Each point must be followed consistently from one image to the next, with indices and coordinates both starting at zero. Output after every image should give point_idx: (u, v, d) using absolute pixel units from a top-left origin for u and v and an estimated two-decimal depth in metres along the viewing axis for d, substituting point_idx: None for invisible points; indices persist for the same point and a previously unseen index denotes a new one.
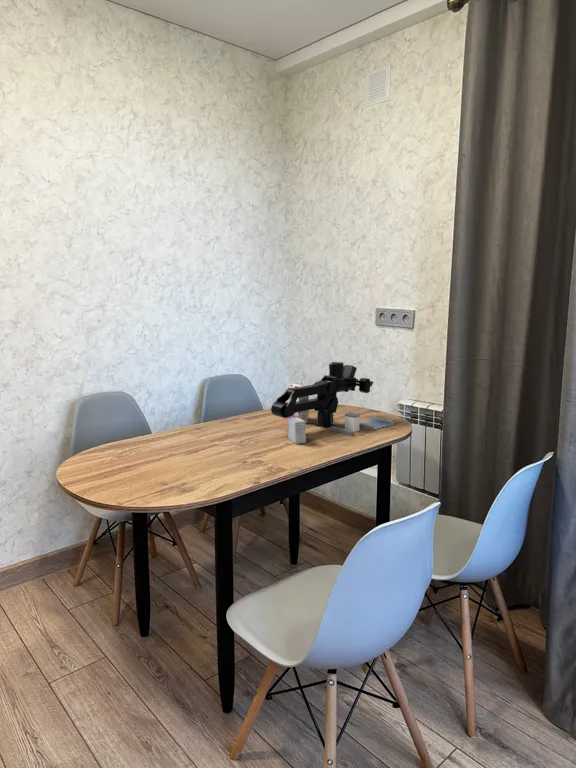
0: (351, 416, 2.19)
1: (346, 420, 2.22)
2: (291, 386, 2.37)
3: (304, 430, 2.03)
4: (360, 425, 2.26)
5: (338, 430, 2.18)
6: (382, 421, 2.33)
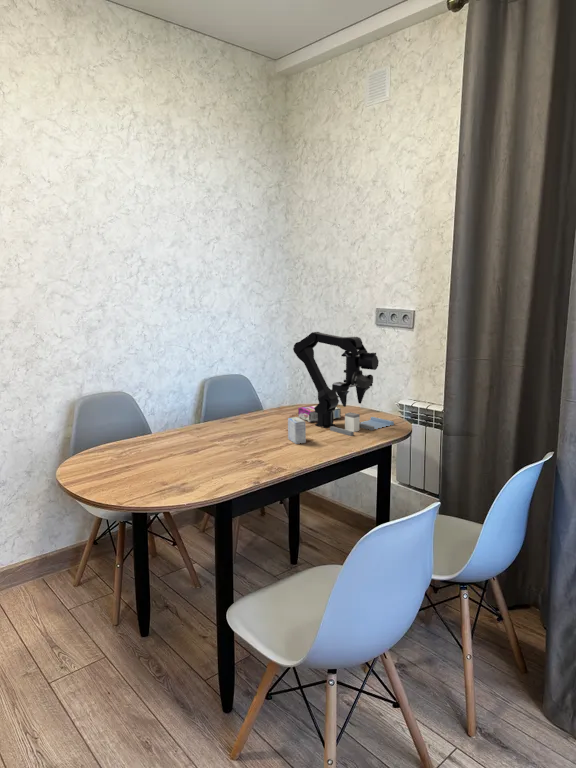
0: (351, 416, 2.19)
1: (346, 420, 2.22)
2: None
3: (304, 430, 2.03)
4: (360, 425, 2.26)
5: (338, 430, 2.18)
6: (382, 421, 2.33)
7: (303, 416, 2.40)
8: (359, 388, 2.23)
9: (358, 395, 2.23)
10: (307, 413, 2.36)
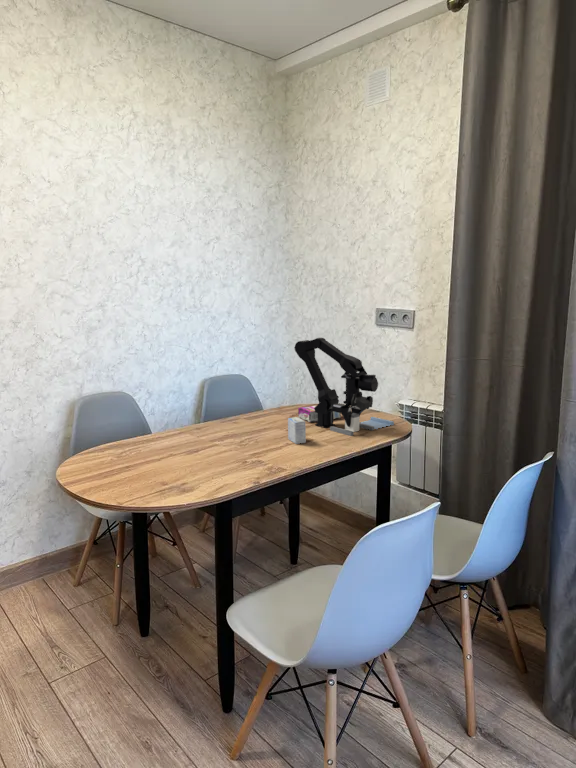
0: (351, 416, 2.19)
1: None
2: None
3: (304, 430, 2.03)
4: (360, 425, 2.26)
5: (338, 430, 2.18)
6: (382, 421, 2.33)
7: (303, 416, 2.40)
8: (354, 410, 2.23)
9: None
10: (307, 413, 2.36)
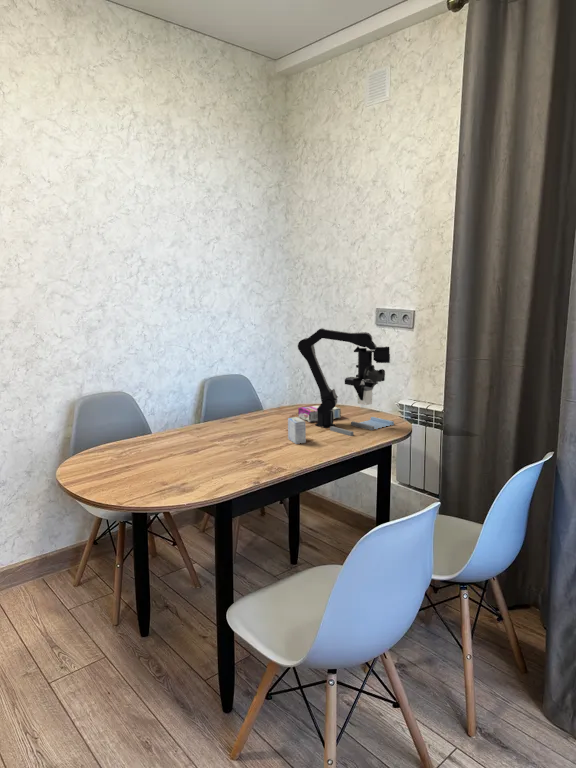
0: (364, 389, 2.22)
1: None
2: None
3: (304, 430, 2.03)
4: (360, 425, 2.26)
5: (338, 430, 2.18)
6: (382, 421, 2.33)
7: (303, 416, 2.40)
8: (367, 383, 2.25)
9: None
10: (307, 413, 2.36)
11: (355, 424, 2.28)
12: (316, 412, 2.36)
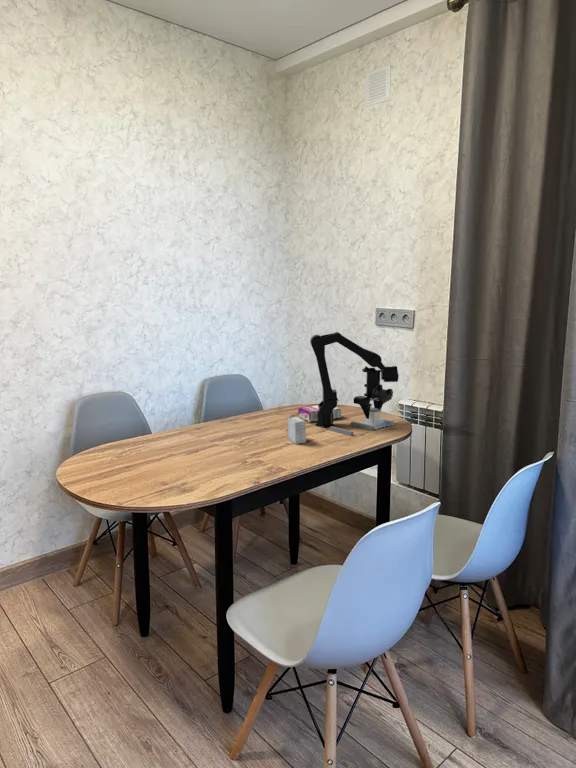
0: (372, 411, 2.27)
1: None
2: None
3: (304, 430, 2.03)
4: (360, 425, 2.26)
5: (338, 430, 2.18)
6: (382, 421, 2.33)
7: (303, 416, 2.40)
8: (376, 402, 2.31)
9: None
10: (307, 413, 2.36)
11: (355, 424, 2.28)
12: (316, 412, 2.36)
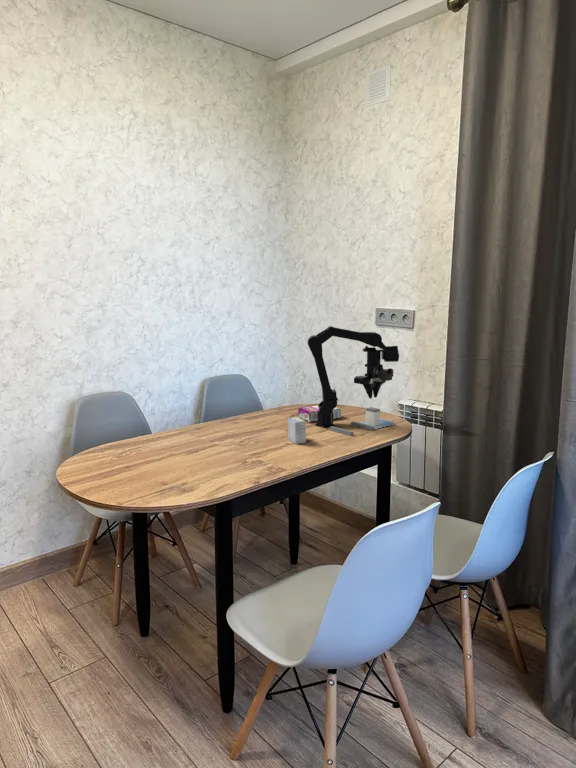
0: (372, 411, 2.27)
1: (366, 414, 2.30)
2: None
3: (304, 430, 2.03)
4: (360, 425, 2.26)
5: (338, 430, 2.18)
6: (382, 421, 2.33)
7: (303, 416, 2.40)
8: (375, 382, 2.29)
9: (374, 389, 2.29)
10: (307, 413, 2.36)
11: (355, 424, 2.28)
12: (316, 412, 2.36)
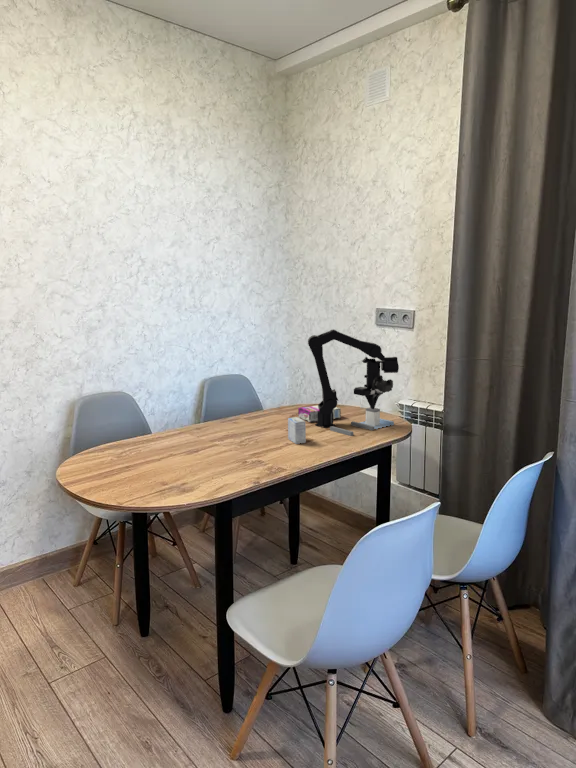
0: (372, 411, 2.27)
1: (366, 414, 2.30)
2: None
3: (304, 430, 2.03)
4: (360, 425, 2.26)
5: (338, 430, 2.18)
6: (382, 421, 2.33)
7: (303, 416, 2.40)
8: None
9: None
10: (307, 413, 2.36)
11: (355, 424, 2.28)
12: (316, 412, 2.36)
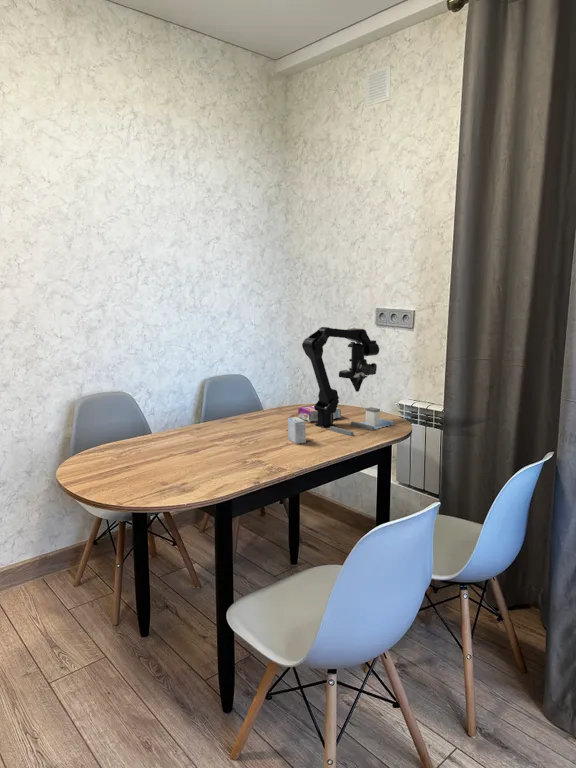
0: (372, 411, 2.27)
1: (366, 414, 2.30)
2: None
3: (304, 430, 2.03)
4: (360, 425, 2.26)
5: (338, 430, 2.18)
6: (382, 421, 2.33)
7: (303, 416, 2.40)
8: None
9: None
10: (307, 413, 2.36)
11: (355, 424, 2.28)
12: (316, 412, 2.36)
